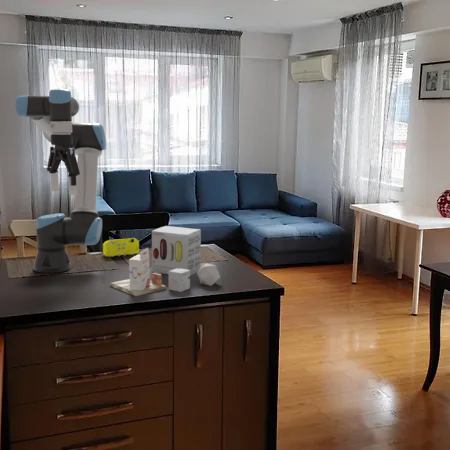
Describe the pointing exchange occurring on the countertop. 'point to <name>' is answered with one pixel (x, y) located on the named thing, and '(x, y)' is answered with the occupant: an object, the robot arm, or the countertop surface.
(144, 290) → the docking board
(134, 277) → the ink cartridge box
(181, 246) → the supplement box
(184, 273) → the skincare box
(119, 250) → the yellow toy chassis
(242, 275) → the countertop surface
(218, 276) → the die
